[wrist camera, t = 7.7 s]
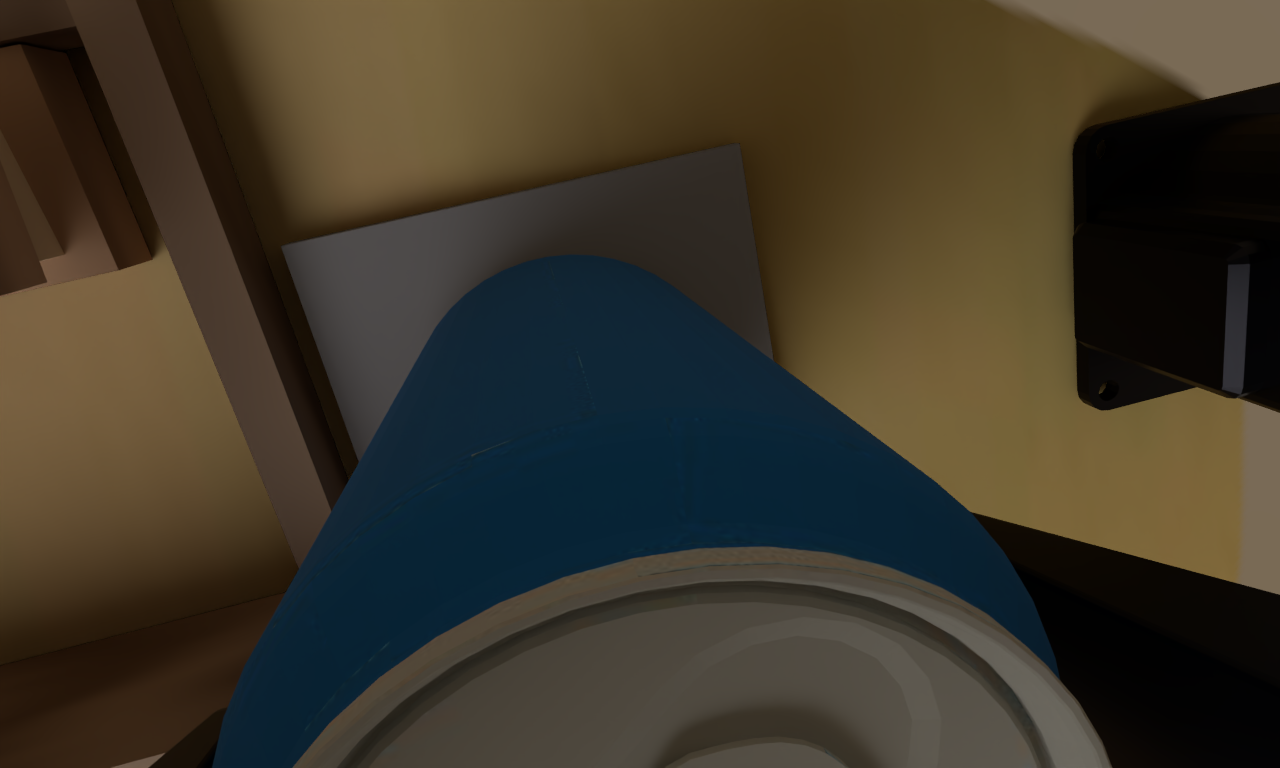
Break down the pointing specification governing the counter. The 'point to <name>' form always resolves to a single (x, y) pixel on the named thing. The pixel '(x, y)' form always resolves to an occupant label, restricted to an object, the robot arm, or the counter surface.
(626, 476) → the beverage can
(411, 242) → the rubber mat
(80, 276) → the offcut stack
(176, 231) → the rack
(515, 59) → the counter surface
